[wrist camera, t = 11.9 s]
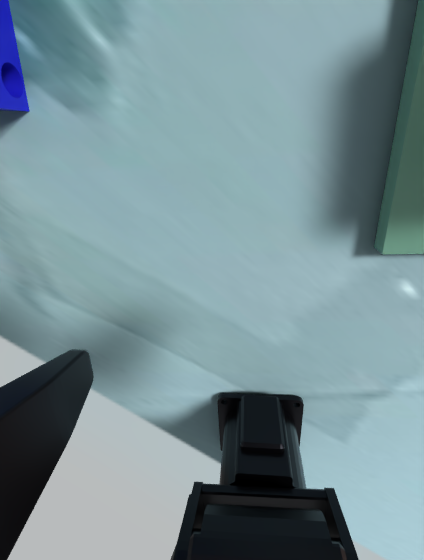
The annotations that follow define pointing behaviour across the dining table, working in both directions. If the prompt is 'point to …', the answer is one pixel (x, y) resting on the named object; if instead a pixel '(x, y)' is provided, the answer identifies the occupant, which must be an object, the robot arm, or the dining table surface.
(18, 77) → the blue cradle block
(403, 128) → the board
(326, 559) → the robot arm
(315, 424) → the dining table surface
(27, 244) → the dining table surface
